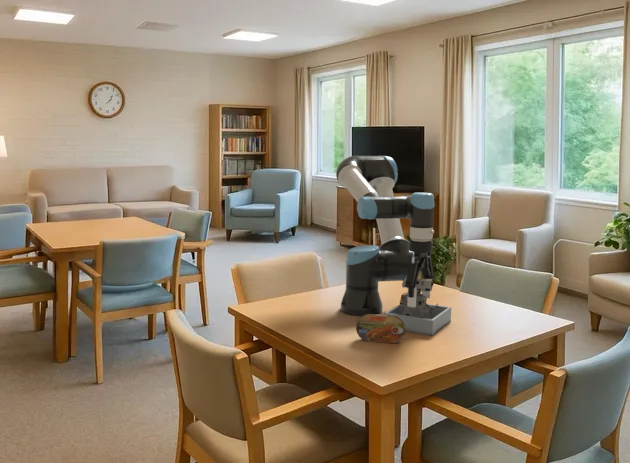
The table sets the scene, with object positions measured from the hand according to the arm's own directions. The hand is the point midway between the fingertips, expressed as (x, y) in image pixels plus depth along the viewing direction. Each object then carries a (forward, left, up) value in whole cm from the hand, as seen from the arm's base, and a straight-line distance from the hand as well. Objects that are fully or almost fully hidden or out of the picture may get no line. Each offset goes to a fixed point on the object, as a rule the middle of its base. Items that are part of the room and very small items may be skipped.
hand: (418, 302), depth 211 cm
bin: (0, 0, -8) cm, 8 cm away
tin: (-4, -23, -8) cm, 24 cm away
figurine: (0, 0, -7) cm, 7 cm away
